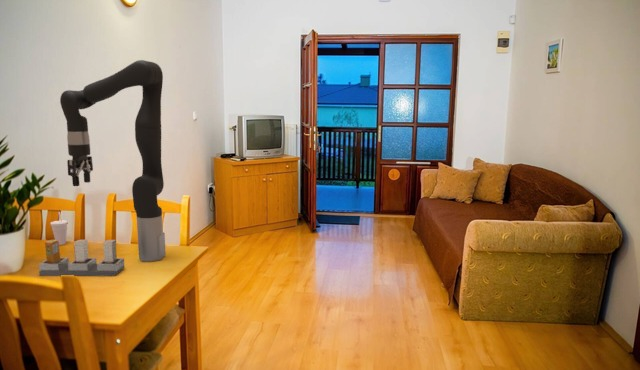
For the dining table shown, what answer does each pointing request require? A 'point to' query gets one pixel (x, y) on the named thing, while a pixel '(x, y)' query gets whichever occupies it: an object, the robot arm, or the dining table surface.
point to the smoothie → (60, 230)
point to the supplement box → (52, 251)
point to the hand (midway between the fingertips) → (81, 184)
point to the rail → (85, 262)
